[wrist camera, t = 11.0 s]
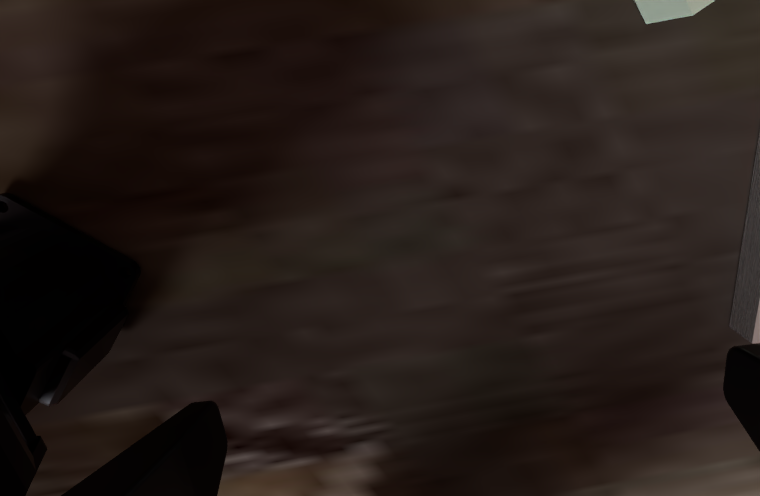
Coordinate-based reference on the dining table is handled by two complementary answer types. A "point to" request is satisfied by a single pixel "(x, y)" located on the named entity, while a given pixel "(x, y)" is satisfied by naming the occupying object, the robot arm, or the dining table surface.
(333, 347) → the dining table surface
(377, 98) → the dining table surface
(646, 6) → the tray
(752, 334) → the bracket
